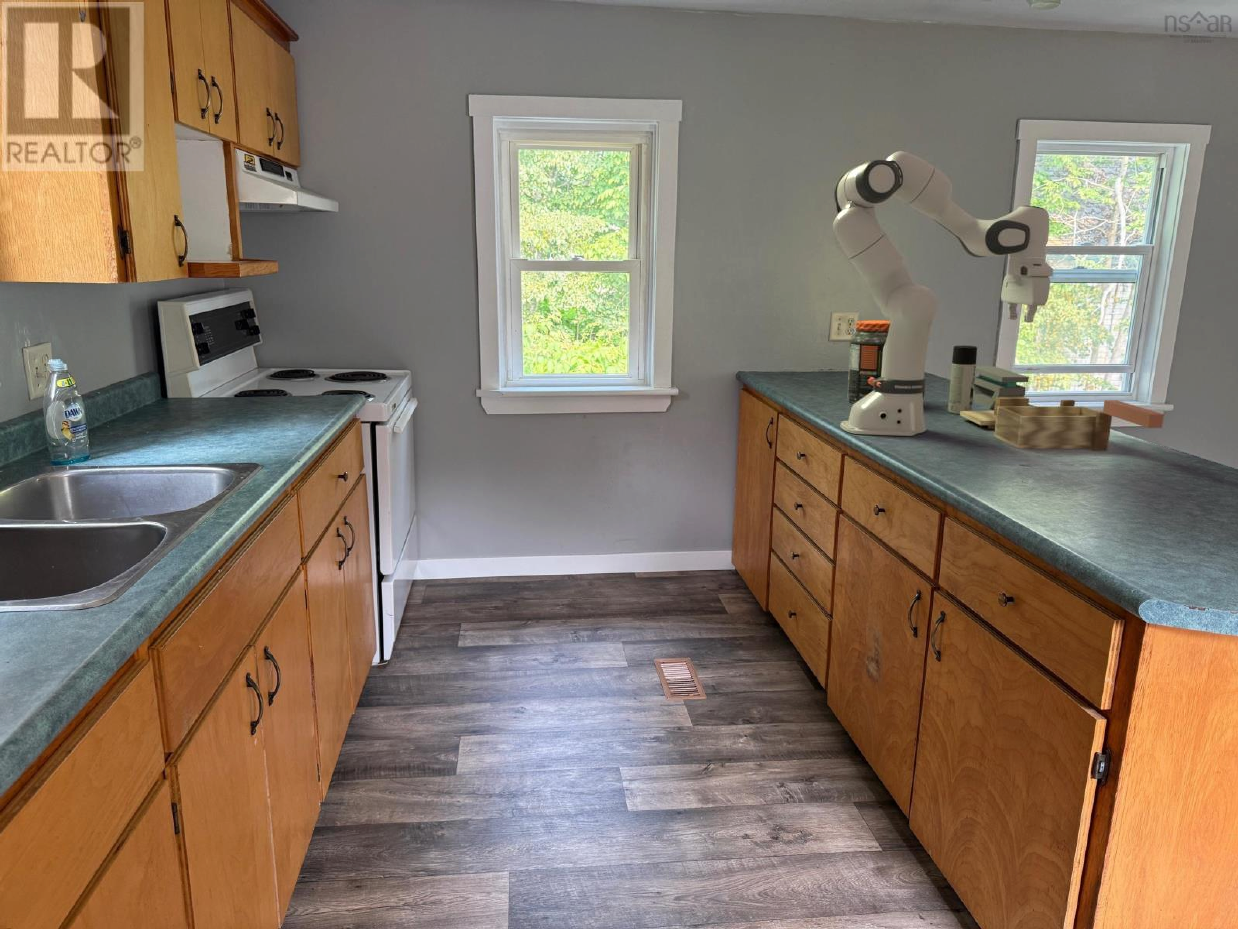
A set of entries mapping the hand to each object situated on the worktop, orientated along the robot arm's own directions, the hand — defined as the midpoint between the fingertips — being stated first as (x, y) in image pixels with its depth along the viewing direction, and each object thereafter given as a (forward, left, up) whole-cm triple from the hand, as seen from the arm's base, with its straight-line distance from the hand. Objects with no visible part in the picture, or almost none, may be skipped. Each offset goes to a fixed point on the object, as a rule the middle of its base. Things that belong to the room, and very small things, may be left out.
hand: (1020, 320), depth 231 cm
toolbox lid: (0, 0, -29) cm, 29 cm away
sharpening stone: (+9, +30, -29) cm, 43 cm away
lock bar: (+8, -43, -19) cm, 47 cm away
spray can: (-7, +18, -29) cm, 35 cm away
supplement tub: (-28, +37, -29) cm, 55 cm away
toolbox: (0, -23, -29) cm, 37 cm away
